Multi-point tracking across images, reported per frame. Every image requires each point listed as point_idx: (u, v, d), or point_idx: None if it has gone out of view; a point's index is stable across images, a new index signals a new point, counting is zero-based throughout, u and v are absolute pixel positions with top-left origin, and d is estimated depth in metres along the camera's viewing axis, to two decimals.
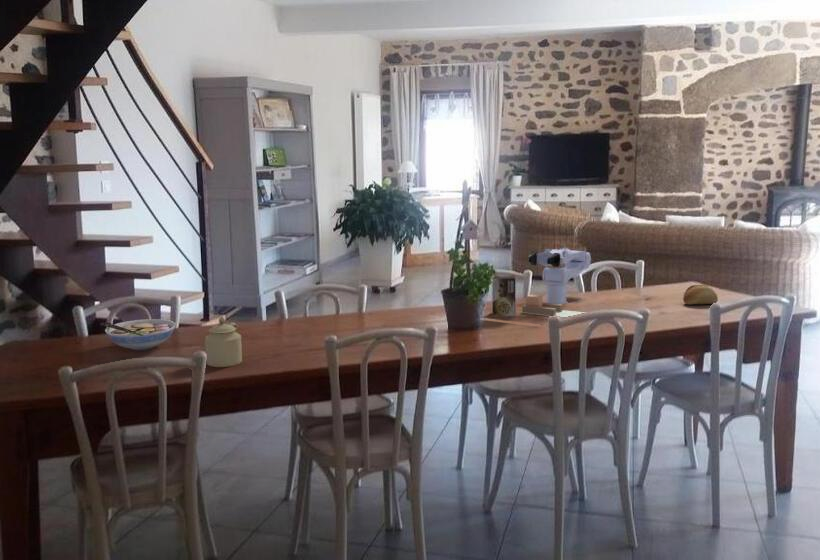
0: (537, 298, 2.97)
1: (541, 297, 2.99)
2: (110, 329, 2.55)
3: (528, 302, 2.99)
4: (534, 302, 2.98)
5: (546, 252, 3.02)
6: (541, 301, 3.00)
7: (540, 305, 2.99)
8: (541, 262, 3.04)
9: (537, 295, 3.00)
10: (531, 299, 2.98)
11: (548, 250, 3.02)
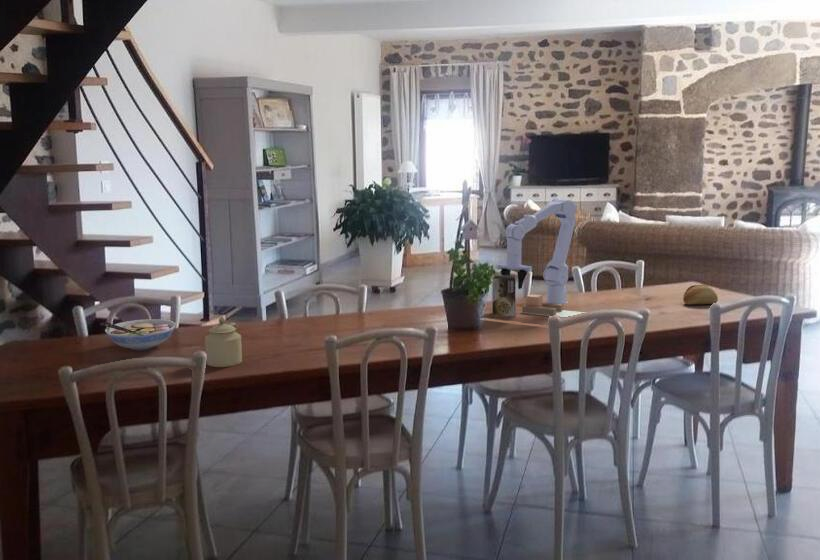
0: (537, 298, 2.97)
1: (541, 297, 2.99)
2: (110, 329, 2.55)
3: (528, 302, 2.99)
4: (534, 302, 2.98)
5: None
6: (541, 301, 3.00)
7: (540, 305, 2.99)
8: None
9: (537, 295, 3.00)
10: (531, 299, 2.98)
11: None
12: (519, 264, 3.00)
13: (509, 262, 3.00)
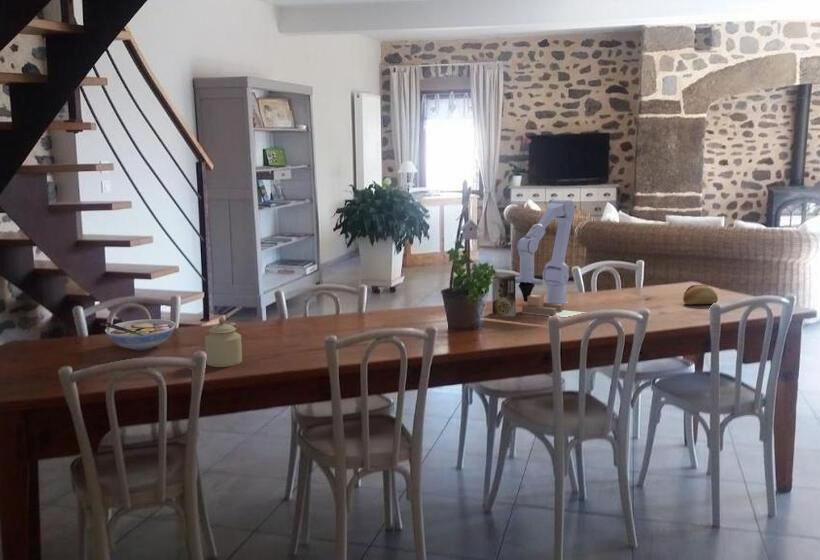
0: (538, 298, 2.97)
1: (542, 297, 2.99)
2: (110, 329, 2.55)
3: (529, 302, 2.99)
4: (535, 302, 2.98)
5: None
6: (542, 301, 3.00)
7: (541, 305, 2.99)
8: None
9: (538, 295, 3.00)
10: (532, 299, 2.98)
11: (524, 281, 2.97)
12: (532, 277, 2.98)
13: (522, 275, 2.98)
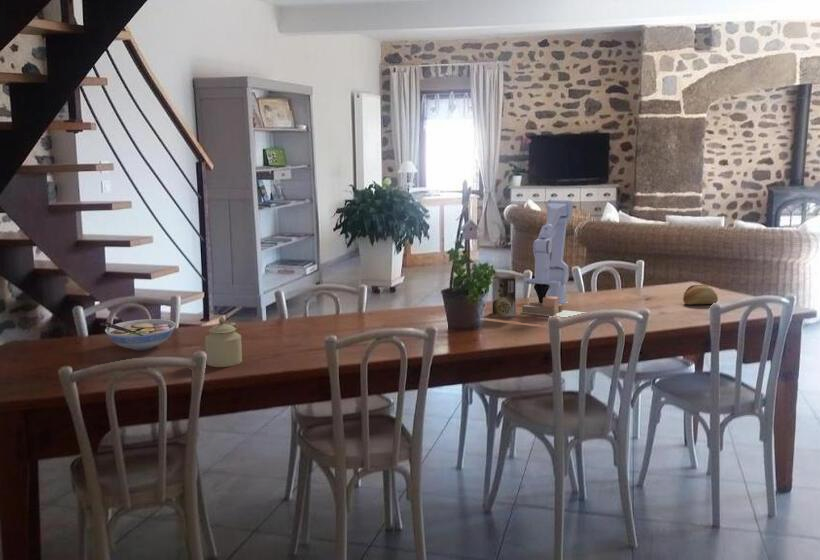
0: (554, 300, 2.93)
1: (557, 299, 2.96)
2: (110, 329, 2.55)
3: (544, 304, 2.96)
4: (550, 304, 2.94)
5: None
6: (557, 303, 2.96)
7: (556, 307, 2.96)
8: None
9: (553, 297, 2.97)
10: (547, 300, 2.95)
11: None
12: (547, 279, 2.95)
13: (537, 277, 2.95)
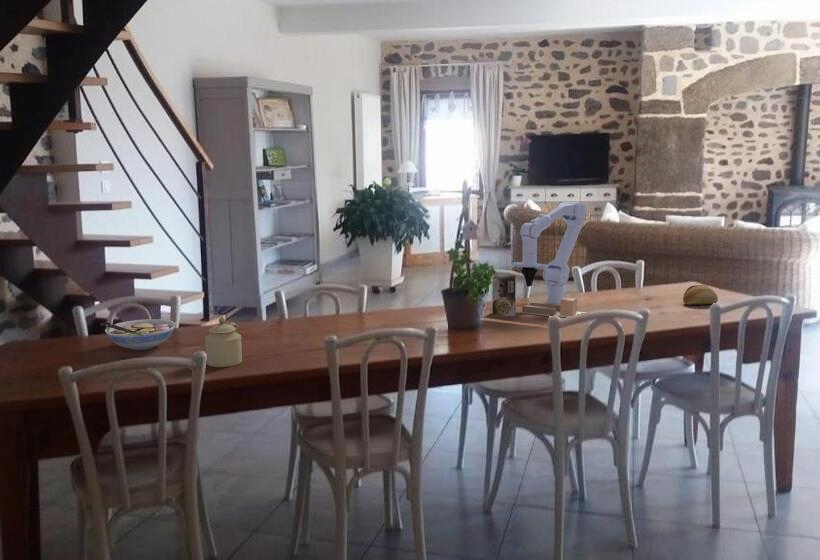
0: (571, 301, 2.90)
1: (575, 300, 2.92)
2: (110, 329, 2.55)
3: (562, 306, 2.92)
4: (568, 306, 2.91)
5: (526, 266, 3.01)
6: (575, 304, 2.93)
7: (574, 309, 2.92)
8: None
9: (571, 298, 2.93)
10: (565, 302, 2.91)
11: (527, 266, 3.00)
12: (535, 262, 3.01)
13: (525, 260, 3.01)
